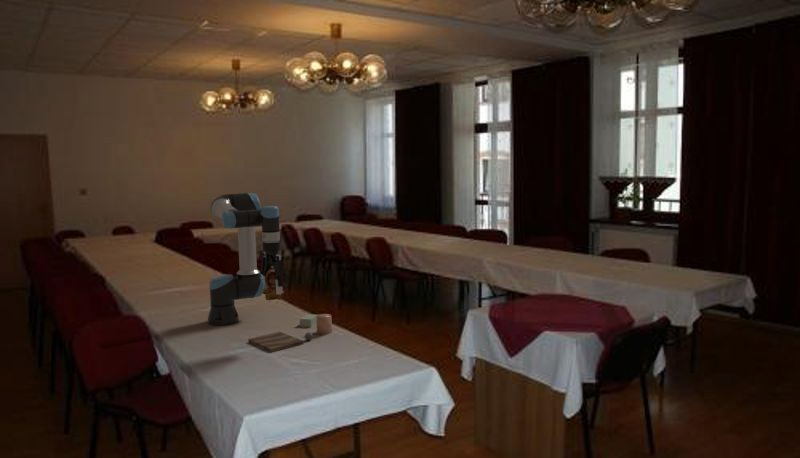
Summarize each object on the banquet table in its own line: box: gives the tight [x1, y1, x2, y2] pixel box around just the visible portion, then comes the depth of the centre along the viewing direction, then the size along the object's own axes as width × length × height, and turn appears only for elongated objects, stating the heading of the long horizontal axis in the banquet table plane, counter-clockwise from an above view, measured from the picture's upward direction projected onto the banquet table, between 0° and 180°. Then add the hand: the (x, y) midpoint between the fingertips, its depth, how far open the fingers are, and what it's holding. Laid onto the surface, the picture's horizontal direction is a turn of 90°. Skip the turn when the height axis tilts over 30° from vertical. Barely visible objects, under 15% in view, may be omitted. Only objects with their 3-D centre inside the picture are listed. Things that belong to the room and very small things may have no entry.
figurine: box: [262, 266, 285, 301], centre depth 258 cm, size 10×8×15 cm
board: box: [247, 331, 304, 353], centre depth 261 cm, size 20×16×2 cm
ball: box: [304, 332, 314, 341], centre depth 264 cm, size 4×4×4 cm
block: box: [299, 313, 318, 328], centre depth 291 cm, size 6×9×4 cm, turn 163°
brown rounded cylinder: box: [316, 313, 333, 336], centre depth 276 cm, size 7×7×8 cm
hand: (273, 292), depth 258 cm, fingers closed on figurine, 9 cm apart
